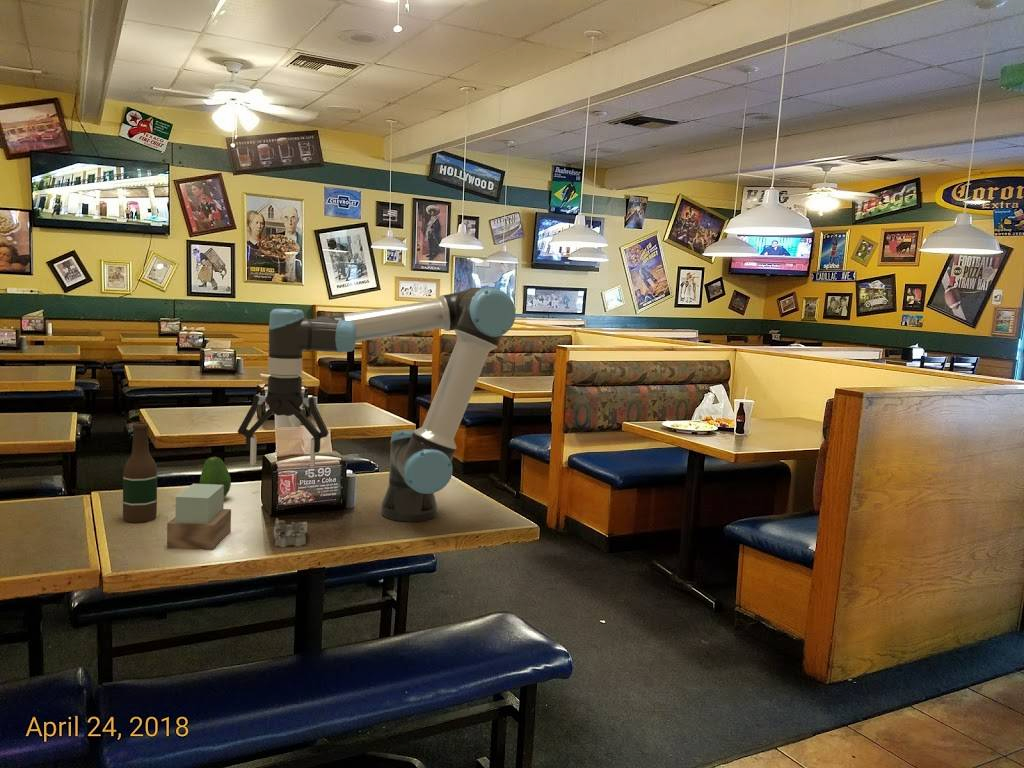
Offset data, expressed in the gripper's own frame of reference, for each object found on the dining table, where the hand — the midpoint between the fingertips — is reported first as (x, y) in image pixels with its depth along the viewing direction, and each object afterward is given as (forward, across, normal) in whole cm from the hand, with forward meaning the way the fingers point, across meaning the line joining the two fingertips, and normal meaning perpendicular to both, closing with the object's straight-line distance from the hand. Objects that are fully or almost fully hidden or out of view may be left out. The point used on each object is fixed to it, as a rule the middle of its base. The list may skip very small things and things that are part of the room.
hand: (283, 465), depth 169 cm
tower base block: (+18, +18, +4) cm, 25 cm away
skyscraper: (+18, +5, -35) cm, 39 cm away
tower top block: (+12, +18, +4) cm, 21 cm away
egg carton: (+18, -2, +2) cm, 18 cm away
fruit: (+18, +23, -28) cm, 40 cm away
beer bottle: (+18, +36, -11) cm, 41 cm away
